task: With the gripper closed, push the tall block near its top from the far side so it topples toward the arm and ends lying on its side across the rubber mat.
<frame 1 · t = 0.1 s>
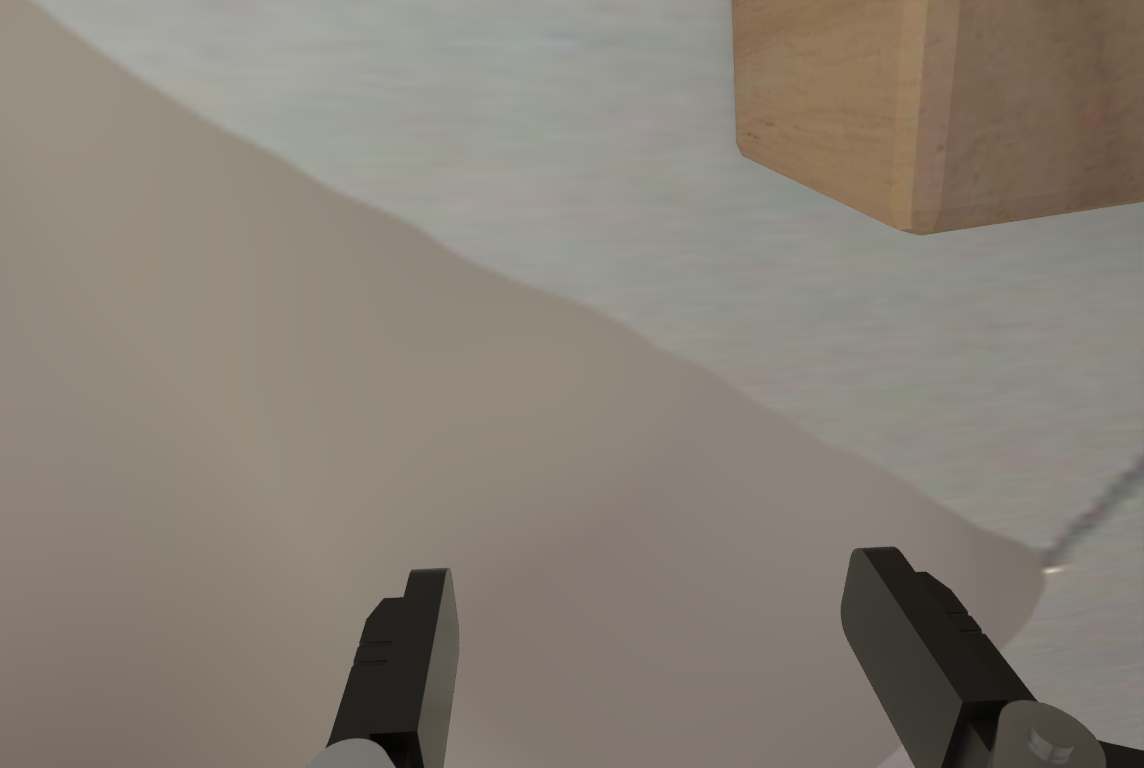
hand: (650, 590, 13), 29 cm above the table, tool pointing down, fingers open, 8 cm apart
block: (820, 48, 36), on the table
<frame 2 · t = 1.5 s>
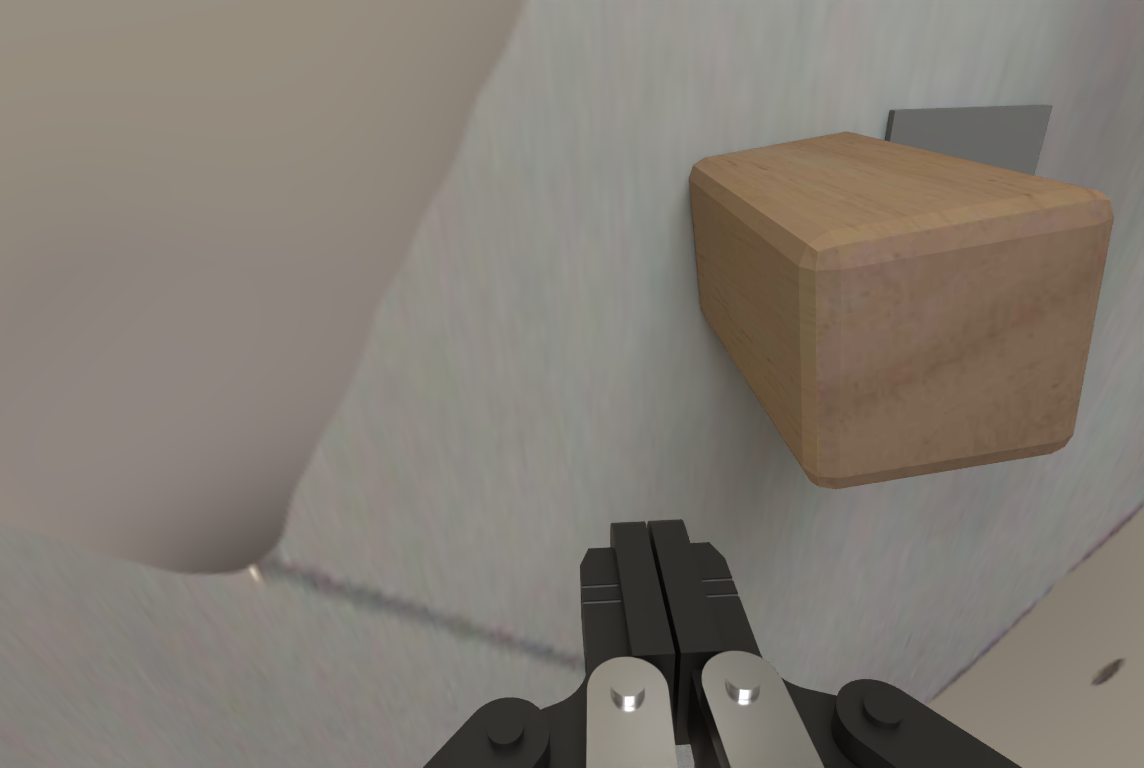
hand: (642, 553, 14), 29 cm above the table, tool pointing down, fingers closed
block: (772, 227, 41), on the table
mat: (943, 222, 41), on the table
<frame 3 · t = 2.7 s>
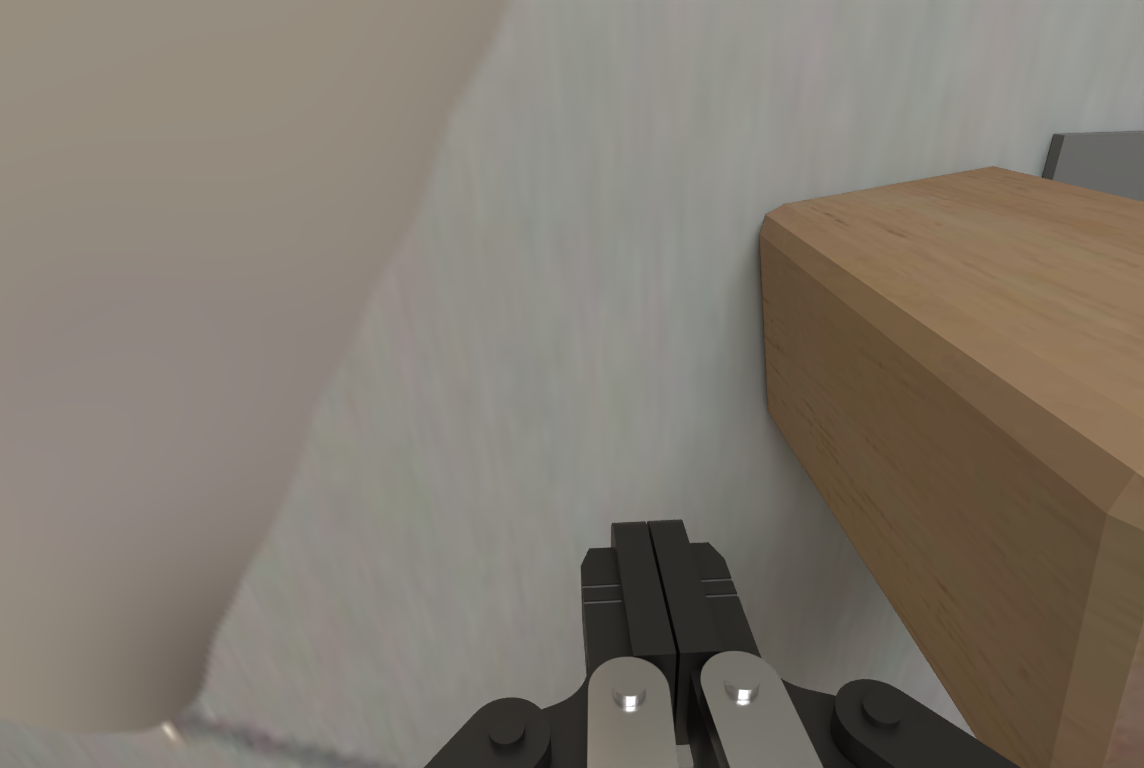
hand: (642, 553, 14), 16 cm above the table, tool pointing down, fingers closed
block: (870, 297, 29), on the table
mat: (1113, 289, 29), on the table
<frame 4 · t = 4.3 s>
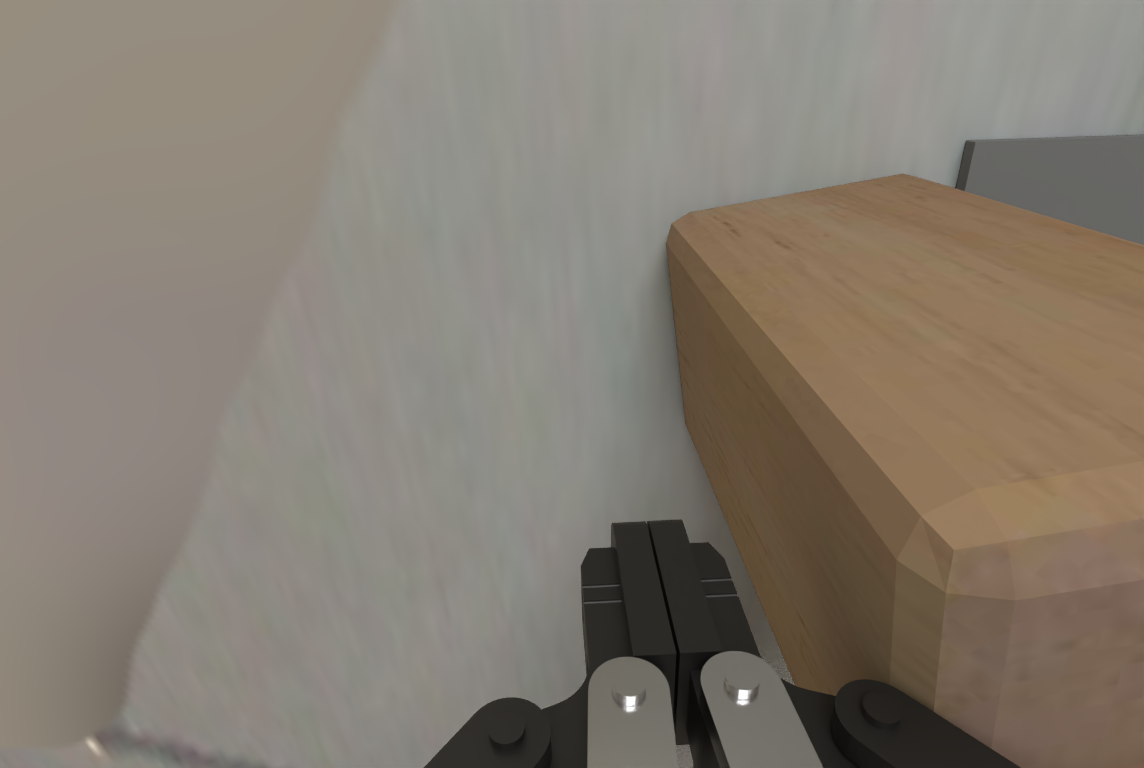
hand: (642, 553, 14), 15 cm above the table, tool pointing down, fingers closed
block: (788, 307, 28), on the table, touching hand
mat: (1035, 299, 28), on the table
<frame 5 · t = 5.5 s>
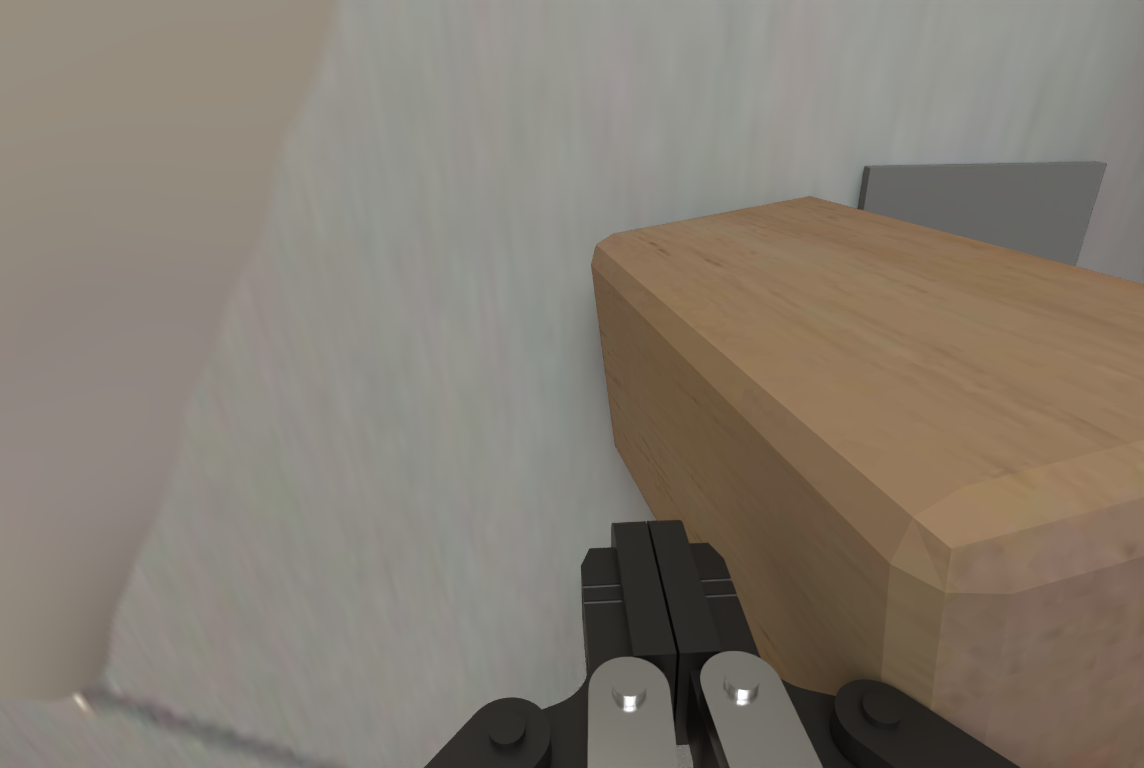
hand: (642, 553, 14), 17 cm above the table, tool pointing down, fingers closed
block: (708, 326, 29), point 1 cm above the table, touching gripper, hand
mat: (944, 318, 29), on the table
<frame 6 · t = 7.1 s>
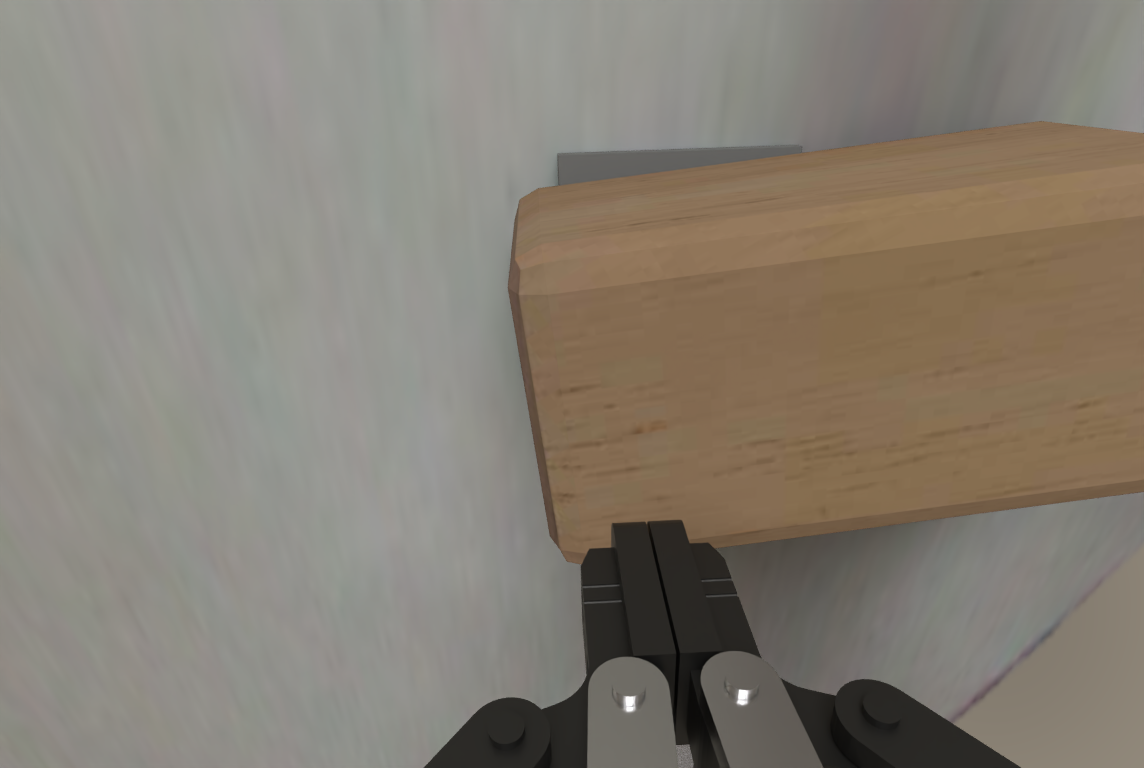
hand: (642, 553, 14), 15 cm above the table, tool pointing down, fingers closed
block: (524, 365, 22), point 6 cm above the table, touching mat
mat: (671, 313, 28), on the table
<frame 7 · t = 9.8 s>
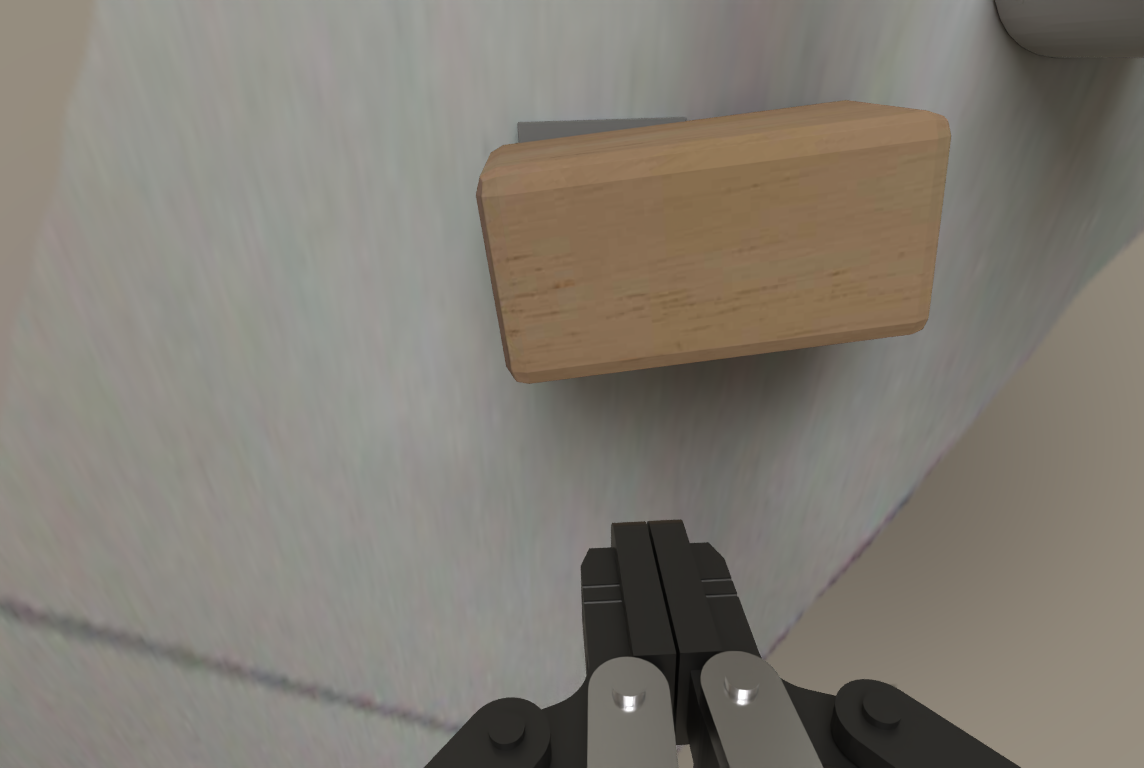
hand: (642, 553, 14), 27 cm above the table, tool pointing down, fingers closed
block: (492, 261, 33), point 6 cm above the table, touching mat
mat: (602, 239, 39), on the table
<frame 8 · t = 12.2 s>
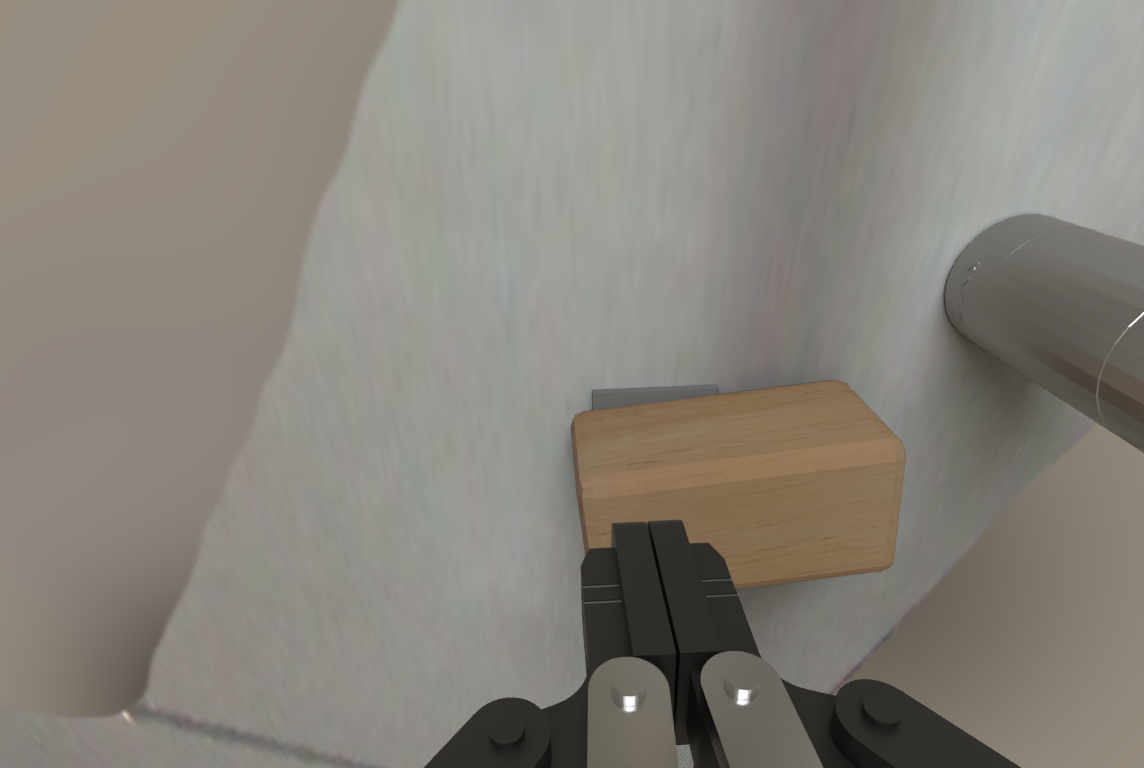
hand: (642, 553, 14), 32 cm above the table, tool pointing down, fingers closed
block: (577, 505, 46), point 6 cm above the table, touching mat
mat: (651, 463, 51), on the table
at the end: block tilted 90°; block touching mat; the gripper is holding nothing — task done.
